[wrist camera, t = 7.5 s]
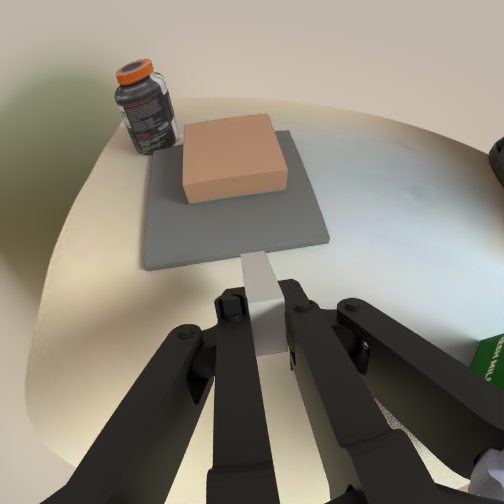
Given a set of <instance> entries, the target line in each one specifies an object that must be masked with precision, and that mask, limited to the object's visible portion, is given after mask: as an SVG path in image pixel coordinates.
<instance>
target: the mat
mask: <svg viewBox="0 0 504 504" xmlns="http://www.w3.org/2000/svg"><path fill="white" fill-rule="evenodd" d="M275 135H276V137H277V140H278V143H279V146H280V149H281V151H282V154H283V157H284V160H285V163H286V166H287V169H288V174H287V185H286V190H283V191H278V192H270V193H263V194H255V195H248V196H241V197H234V198H228V199H221V200H215V201H209V202H203V203H197V204H192V203H190V204H189V202H188V199H187V196H186V193H185V191H184V188H183V145H179V146H174V147H170V148H165V149H161V150H156V151H154V152H153V159H152V167H151V175H150V184H149V193H148V204H147V216H146V231H145V252H144V268H145V269H146V270H147V271H152V270H158V269H165V268H171V267H178V266H184V265H191V264H197V263H204V262H210V261H217V260H223V259H230V258H236V257H241V254H245V253H252V252H259V251H265V253H268V252H275V251H281V250H288V249H294V248H300V247H307V246H313V245H320V244H326V243H328V242H329V240H330V237H329V234H328V231H327V228H326V225H325V222H324V219H323V217H322V214H321V211H320V208H319V205H318V203H317V200H316V197H315V194H314V192H313V189H312V186H311V184H310V181H309V179H308V176H307V173H306V171H305V168H304V166H303V163H302V161H301V158H300V156H299V153H298V151H297V149H296V146H295V144H294V141H293V139H292V137H291V134H290V132H289V130H287V131H275Z"/></svg>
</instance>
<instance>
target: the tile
mask: <svg viewBox="0 0 504 504" xmlns="http://www.w3.org/2000/svg"><path fill="white" fill-rule="evenodd" d="M287 174H288V169H287V166H286V163H285V160H284V157H283V154H282V151H281V149H280V146H279V143H278V140H277V137H276V135H275V132H274V129H273V126H272V124H271V121H270V118H269V116H268V114H259V115H249V116H241V117H233V118H225V119H219V120H212V121H206V122H200V123H195V124H189V125H184V145H183V188H184V191H185V193H186V196H187V199H188V202H189V204H190V203H192V204H197V203H203V202H209V201H215V200H221V199H228V198H234V197H241V196H248V195H255V194H263V193H270V192H278V191H283V190H286V185H287Z"/></svg>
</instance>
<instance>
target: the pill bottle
mask: <svg viewBox="0 0 504 504" xmlns="http://www.w3.org/2000/svg"><path fill="white" fill-rule="evenodd" d="M116 77H117V80H118V83H119V84H120V86H119V87H118V88H117V90H116V92H115V100H116V102H117V105H118V108H119V110H120V112H121V115H122V117H123V120H124V122H125V124H126V127H127V129H128V132H129V134H130V136H131V139H132V141H133V144H134V146H135V148H136V150H137V151H138V152H139V153H141V154H144V155H153V152H154V151H156V150H161V149H165V148H170V147H171V146H172V145H173V144H174V143H175V142H176V141H177V139H178V137H179V130H178V126H177V122H176V119H175V115H174V111H173V108H172V104H171V101H170V97H169V93H168V89H167V86H166V82H165V78H164V77H163V76H162V75H161V74H159V73H155V72H153V66H152V63H151V61H150V60H149V59H142V60H138V61H135V62H131V63H129V64H127V65H125V66H123V67H122V68H120V69H119V70H118V71H117V72H116Z"/></svg>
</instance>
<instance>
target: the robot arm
mask: <svg viewBox="0 0 504 504" xmlns="http://www.w3.org/2000/svg"><path fill="white" fill-rule="evenodd" d="M489 159H490V162H491V165H492V167H493V169H494V171H495V173H496V175H497V177H498V178H499V180H500V181H501V183H502V184H503V186H504V137H503V138H501V139H500V140H498V141H497V142H496V143H495V144H494V146H493V147H492V149H491V150H490V152H489ZM241 262H242V270H243V278H244V285H245V287H238V288H231V289H226V290H225V291H224V292H223V293H222V295H221V296H219V297H218V298H216V299H215V301H214V304H215V309H216V314H217V318H218V324H217V325H215V326H214V327H212V328H209V329H206V330H203V331H201V329H200V327H199V326H197V325H194V324H184V325H180V326H178V327H176V328H174V329H173V330H172V331H171V332H170V333H169V335H168V336H167V337H166V339H165V340H164V342H163V343H162V344H161V346H160V347H159V349H158V350H157V351H156V353H155V354H154V356H153V357H152V358H151V360H150V361H149V363H148V364H147V365H146V367H145V368H144V370H143V371H142V373H141V374H140V375H139V377H138V378H137V380H136V381H135V383H134V384H133V386H132V387H131V388H130V390H129V391H128V393H127V394H126V396H125V397H124V398H123V400H122V401H121V403H120V404H119V406H118V407H117V409H116V410H115V412H114V413H113V415H112V416H111V417H110V419H109V420H108V422H107V423H106V425H105V426H104V428H103V429H102V431H101V432H100V434H99V435H98V437H97V438H96V440H95V441H94V443H93V444H92V446H91V447H90V449H89V450H88V452H87V453H86V455H85V456H84V458H83V459H82V461H81V462H80V464H79V465H78V467H77V468H76V470H75V472H74V473H73V475H72V476H71V478H70V479H69V481H68V482H67V484H66V485H65V486H63V487H62V488H61V489H59V490H58V491H57V492H55V493H54V494H53V495H51V496H50V497H48V498H47V499H46V500H44V501H43V502H41V503H40V504H164V503H165V501H166V498H167V496H168V493H169V491H170V489H171V486H172V484H173V481H174V479H175V476H176V474H177V472H178V469H179V467H180V464H181V462H182V459H183V457H184V454H185V452H186V449H187V447H188V445H189V442H190V440H191V437H192V435H193V432H194V430H195V427H196V425H197V422H198V420H199V417H200V415H201V412H202V410H203V407H204V405H205V402H206V400H207V397H208V394H209V392H210V389H211V387H212V384H213V382H214V376H215V391H214V427H213V466H212V468H211V469H209V470H208V473H207V482H206V504H280V500H279V494H278V489H277V483H276V477H275V471H274V465H273V459H272V453H271V447H270V441H269V435H268V429H267V423H266V417H265V411H264V405H263V398H262V392H261V386H260V379H259V373H258V366H257V360H256V356H261V355H268V354H274V353H280V352H286V351H288V345H289V348H290V364H291V370H293V369H294V372H295V375H296V378H297V382H298V385H299V388H300V391H301V395H302V398H303V401H304V404H305V408H306V411H307V414H308V417H309V421H310V424H311V427H312V430H313V434H314V437H315V440H316V444H317V447H318V450H319V453H320V457H321V460H322V463H323V467H324V470H325V473H326V476H327V480H328V483H329V488H330V499H331V501H329V502H327V503H325V504H504V391H502V390H501V389H499V388H498V387H496V386H495V385H493V384H492V383H490V382H489V381H487V380H486V379H484V378H483V377H481V376H480V375H479V374H477V373H476V372H474V371H473V370H471V369H470V368H468V367H466V366H465V365H463V364H462V363H460V362H459V361H457V360H456V359H454V358H453V357H451V356H450V355H448V354H447V353H445V352H444V351H442V350H441V349H439V348H438V347H436V346H435V345H433V344H431V343H430V342H428V341H427V340H425V339H424V338H422V337H421V336H419V335H417V334H416V333H414V332H413V331H411V330H410V329H408V328H407V327H405V326H403V325H402V324H400V323H399V322H397V321H396V320H394V319H392V318H391V317H389V316H388V315H386V314H384V313H383V312H381V311H380V310H378V309H377V308H375V307H373V306H372V305H370V304H369V303H367V302H365V301H363V300H361V299H357V298H348V299H344V300H342V301H340V302H339V303H338V304H337V309H335V310H326V309H320V307H319V306H318V304H317V303H316V302H314V301H312V300H309V299H308V297H307V296H306V294H305V292H304V291H303V289H302V287H301V286H300V284H299V282H297V281H296V280H294V279H288V280H281V281H277V279H276V277H275V274H274V272H273V270H272V267H271V265H270V263H269V260H268V258H267V255H266V253H265V251H259V252H252V253H245V254H241ZM365 342H366V343H367V345H368V347H367V346H366V345H365V344H364V343H365ZM371 394H372V395H373V396H374V397H375V398H376V399H377V400H378V401H379V402H380V403H381V404H382V405H383V406H384V407H385V408H386V409H387V410H388V411H389V412H390V413H391V414H392V415H393V416H394V417H395V418H396V419H397V420H398V421H399V422H400V423H401V424H402V425H403V426H404V427H406V428H407V429H408V430H409V431H410V432H411V433H412V434H413V435H414V436H415V437H416V438H417V439H418V440H419V441H420V442H421V443H422V444H423V445H424V446H425V447H426V448H428V449H429V450H430V451H431V452H432V453H433V454H434V455H435V456H436V457H437V458H438V459H439V460H440V461H441V462H442V463H444V464H445V465H446V466H447V467H448V468H450V469H451V470H452V471H454V472H455V473H457V474H459V475H460V476H462V477H464V478H467V479H469V480H471V482H470V484H469V487H468V492H469V493H466V492H463V491H459V490H456V489H453V488H449V487H446V486H443V485H440V484H437V483H434V481H433V479H432V477H431V475H430V474H429V472H428V470H427V468H426V466H425V465H424V463H423V461H422V459H421V457H420V456H419V454H418V452H417V450H416V449H415V447H414V445H413V444H412V442H411V440H410V438H409V437H408V435H407V434H406V433H405V432H404V431H403V430H401V429H395V430H393V429H392V428H391V427H390V426H389V425H388V423H387V421H386V419H385V417H384V416H383V414H382V412H381V410H380V409H379V407H378V405H377V403H376V402H375V400H374V398H373V396H372V395H371ZM478 495H480V496H478Z"/></svg>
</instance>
